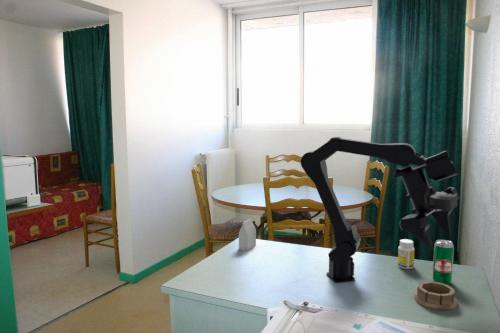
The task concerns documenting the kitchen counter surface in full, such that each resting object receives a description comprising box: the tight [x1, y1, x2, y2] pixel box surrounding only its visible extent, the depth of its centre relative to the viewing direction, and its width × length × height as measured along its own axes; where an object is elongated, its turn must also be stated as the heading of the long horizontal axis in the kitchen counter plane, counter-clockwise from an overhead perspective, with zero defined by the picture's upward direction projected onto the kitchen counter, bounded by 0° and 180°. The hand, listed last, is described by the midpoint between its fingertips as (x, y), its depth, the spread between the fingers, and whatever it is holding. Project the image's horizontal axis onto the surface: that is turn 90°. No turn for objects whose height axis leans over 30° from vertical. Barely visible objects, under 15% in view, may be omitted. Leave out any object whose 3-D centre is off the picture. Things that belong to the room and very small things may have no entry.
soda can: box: [432, 239, 455, 286], centre depth 116 cm, size 5×5×12 cm
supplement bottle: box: [397, 238, 415, 270], centre depth 128 cm, size 5×5×8 cm
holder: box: [414, 280, 458, 311], centre depth 105 cm, size 10×10×4 cm
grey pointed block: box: [238, 218, 257, 251], centre depth 148 cm, size 4×7×10 cm, turn 154°
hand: (440, 241), depth 108 cm, fingers open, 9 cm apart
